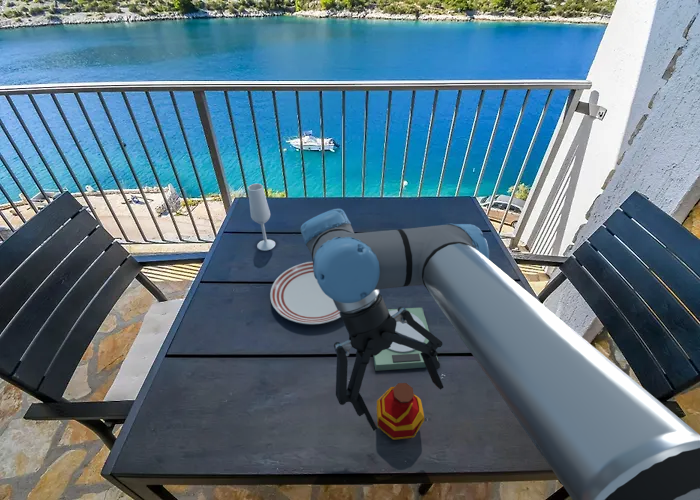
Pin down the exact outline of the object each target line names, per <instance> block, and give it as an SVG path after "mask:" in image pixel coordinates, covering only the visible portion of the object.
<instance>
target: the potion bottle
mask: <svg viewBox="0 0 700 500" xmlns="http://www.w3.org/2000/svg"><path fill="white" fill-rule="evenodd" d="M425 420H426V419H425V413H424V408H423V402H422V399H421V398H420V397H419V396H417V395H416V394H415V393H414V388H413V387H412V386H411V385H409V383H407V382H398V383H397V384H396V385H395V386H390V387H389V388H388V389H387V390H386V391H385V392H384V393H383V394H382V395H381V396H380V397H379V398H378V399H377V400H376V427H377V429H379V430H380V431H382V432H383V433H384V434H385V435H386V436H387V437H389V438H391V440H392V441H396V440H406V439H407V440H408V439H409V440H411V439H414V438H415V437H416V435H417V433H418V432H419V430H420V428H421V427H422V426H423V423H424V422H425Z"/></svg>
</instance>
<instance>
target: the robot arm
mask: <svg viewBox="0 0 700 500" xmlns="http://www.w3.org/2000/svg"><path fill="white" fill-rule="evenodd" d="M352 226H353V225H352V223H351V221H350V220H349V218H348V216H347V214H346V212H345V211H344V209H342V208H333V209H329V210H327V211H324V212H322V213H320V214H317V215H315V216H314V217H311V218H310V219H308V220H306V221H305V222H303V223H302V225H301V226H300V233H301V235H302V238H303V241H304V245H305V246H306V248H307V249H308V251H309V254H310V256H311V260H312V261H311V262H313V271H314V276H315V278H316V279H317V282H318V284H319V286H320V288H321V289H322V291H323V292H324V293H325V294H326V295H327V296H328V297H330V298H331V299H333V301H334V304H335V306H336V308H337V310H338V311H340V316H341V317H340V319H341V320H342V323H343V325H344V327H345V329H346V331H347V333H348V340H345V341H343V342H339V341H336V342H334V343H333V348H334V351H335V354H336V373H335V375H336V377H335V397H336V399H337V401H338V403H339V405H340V406H344V405H346V403H351V405H352V406H353V409H354V411H355V412H356V415H357V416H358V417H362V416H363V415H365V417H366V419H367V422H368V423H369V425H370V427H371V429H372V431H373V432H375V431H376V430H378V426H377V424H376V423H375V421H374V419H373V417H372V415H371V413H370V411H369V409H368V406H367V405H366V402H365V401H364V398H363V397H362V395H361V393H360V391H361V387H362V383H363V380H364V377H365V374H366V369H367V366H368V364H369V363H370V361H371V357H372V356H373V355H374V356H376V355H377V354H379V353H380V352H381V351H382V350H385V349H388V348H390V347H391V346H390V345H391V344H392V342H394V343H397V344H400V345H404V346H407V347H410V348H412V349H415V350H417V351H420V352H422V353H420V354H421V356H422V358H423V361H424V363H425V365H426V367H425V368H426V370H427V372H428V375H429V377H430V379H431V381H432V383H433V384H434V385H435V386H436V387H437V388H438V389H439V390H443V389H444V385H443V381H442V380H441V378H440V374H439V372H438V370H439V369H440V368H441V364H440V361H439V358H438V351H437V349H438V348H441V347H443V341H442V340H440V339H439V338H438V337H436V336H435V335H434V334H433V333H432V332H431V331H430V330H429V331H428V330H426V329H425V328H424V327H422V326H421V325H420V324H419V323H417V322H416V321H415V320H414V319H413V317H412V316H411V314H410V312H409V311H408V310H406V309H405V307H403V306H399V307H398V308H397V309H398V312H397V313H395V314H394V315H392V316H391V315H390V314H389V311H388V307H387V304H386V302H385V300H384V297H383V295H382V294H381V293H380V290H387V289H394V288H395V289H396V288H404V287H413V286H424V287H425V288H426V290H427V292H428V293H429V294H430V296H431V297H432V298H433V300H434V302H435V303H436V304H437V305H438V307H439V309H440V310H441V312H442V313H443V314H444V316H445V317H446V319H447V320H448V321H449V323H450V324H451V326H452V327H453V329H454V330H455V332H456V333H457V335H458V336H459V338H460V339H461V341H462V342H463V344H464V345H465V346H466V348H467V349H468V351H469V352H470V353H471V355H472V356H473V358H474V359H475V361H476V362H477V364H478V365H479V366H480V368H481V369H482V371H483V372H484V374H485V375H486V377H487V379H489V381H490V382H491V384H492V385H493V387H494V388H495V390H496V391H497V392H498V394H499V395H500V397H501V398H502V400H503V401H504V403H505V404H506V405H507V407H508V408H509V410H510V411H511V413H512V414H513V416H514V417H515V418H516V419H517V421H518V423H519V424H520V425H521V427H522V429H523V430H524V431H525V433H526V434H527V436H528V438H529V439H530V440H531V442H532V443H533V444H534V446H535V448H536V449H537V450H538V453H540V455H541V456H542V457H543V459H544V461H545V462H546V463H547V465H548V466H549V468H550V469H551V471H552V472H553V473H554V475H555V476H556V478H557V479H558V481H559V482H560V483H561V485H562V487H563V488H564V489H565V491H566V493H567V494H568V495H569V497H570V498H571V500H700V433H698V432H697V431H696V430H695V429H693V428H692V427H691V426H690V425H688V424H687V423H686V422H685V421H684V420H682V419H681V418H680V417H678V415H677V414H675V413H674V412H673V411H671V410H670V409H669V408H668V407H667V406H666V405H664V403H662V402H661V401H660V400H659V399H657V398H656V397H655V396H653V395H652V394H651V393H650V392H649V391H648V390H646V389H645V388H644V387H643V386H642V385H641V384H639V383H638V382H637V381H635V380H634V379H633V378H632V377H631V376H630V375H628V374H627V373H626V372H625V371H623V370H622V369H621V368H620V367H619V366H617V365H616V364H615V363H614V362H613V361H611V360H610V359H609V358H608V357H606V356H605V355H604V354H603V353H602V352H601V351H600V350H598V349H597V348H596V347H595V346H594V345H592V344H591V343H590V342H589V341H587V340H586V339H585V338H584V337H582V335H580V334H579V333H578V332H577V331H576V330H574V329H573V328H572V327H570V325H568V324H567V323H566V322H565V321H563V320H562V319H561V318H559V317H558V316H557V315H556V314H555V313H554V312H552V311H551V310H550V309H549V307H546V305H544V304H543V303H542V302H540V301H539V300H538V299H537V298H536V297H535V296H533V295H532V294H530V292H528V291H527V290H526V289H525V288H524V287H522V286H521V285H520V284H519V283H517V282H516V281H515V280H514V279H513V278H511V277H510V276H509V275H508V274H507V273H506V272H504V271H503V270H502V269H501V268H500V267H498V266H497V265H496V264H495V263H493V262H492V261H491V260H490V249H489V245H488V240H487V238H485V237H484V233H483V231H482V230H481V229H480V227H478V226H477V225H474V224H473V223H472V224H471V223H452V222H451V223H445V224H439V225H430V226H420V227H412V228H401V229H388V230H378V231H376V230H375V231H366V232H354V229H353V227H352ZM398 321H399V322H401V323H402V324H404V323H407V324H408V325H410V326H411V327H412V328H413V329H415V330H416V331H417V332H419V333H420V334H421V335H422V336H424V337H425V338H426V339H428V340H429V342H428V343H427V344H426V343H423V342H421V341H418V340H416V339H413V338H411V337H408V336H406V335H403V334H400V333H398V332H396V331H395V329H396V325H397V323H396V322H398ZM351 349H355V350H356V352H355V360H354V363H353V367H352V371H351V374H350V378H349V381H348V365H349V364H348V357H349V356H350V351H351ZM436 356H437V357H436ZM437 358H438V359H437Z"/></svg>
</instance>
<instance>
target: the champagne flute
mask: <svg viewBox="0 0 700 500" xmlns="http://www.w3.org/2000/svg"><path fill="white" fill-rule="evenodd" d="M247 193H248V201H249V202H248V203H249V213H250V218H251V220H252V221H253V222H254V223H256V224H259V225H260V228H261V233H262V239H263V240H260V241H259V242H258V243H257V245H256V247H257V249H258V250H260V251H265V252H266V251H269V250H272V249H274V248H275V246H276V242H275V241H274V240H273V239H270V238H269V239H268V238H267V232H266V227H265V224H266V223H267V222H268V221H269V220H270V218H271V211H270V207H269V204H268V200H267V197H266V193H265V190H264V185H263V184H261V183H252V184H250V185H249V186H247Z"/></svg>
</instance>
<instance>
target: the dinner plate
mask: <svg viewBox="0 0 700 500" xmlns="http://www.w3.org/2000/svg"><path fill="white" fill-rule="evenodd" d="M269 292H270V293H269V298H270V302H271V305H272V307H273V309H274V310H275V311H276V312H277V313H278V315H279V316H281V317H283V318H284V319H286V320H288V321H291V322H294V323H297V324H301V325H322V324H326V323H327V324H328V323H330V322H331V323H332V322H334V321H336V320H338V319H341V316H340V311H338V310H337V308H336V306H335V304H334V301H333V299H331V298H330V297H328V296H327V295H326V294H325V293H324V292H323V291H322V289H321V288H320V286H319V284H318V282H317V279H316V278H315V276H314V271H313V261H306V262H303V263H299V264H296V265H294V266H291V267H289V268H287V269H286V270H285V271H283V272H282V273H280V274H279V276H278V277H277V278H276V279H275V280H274V282H273V283H272V285H271V287H270V291H269Z"/></svg>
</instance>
